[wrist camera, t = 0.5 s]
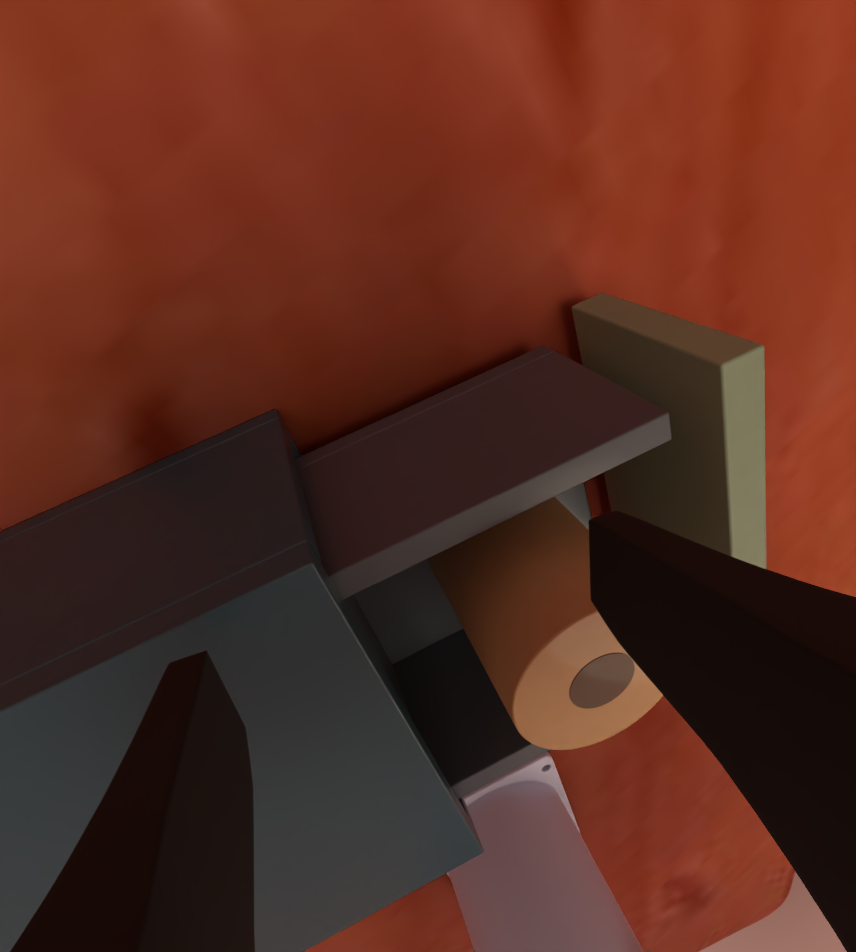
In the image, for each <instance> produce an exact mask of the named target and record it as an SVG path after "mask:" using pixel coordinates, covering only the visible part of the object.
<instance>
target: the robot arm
mask: <svg viewBox="0 0 856 952" xmlns="http://www.w3.org/2000/svg"><path fill="white" fill-rule="evenodd" d="M589 557H590V594H591V601H592V603H593V605H594V606H595V608H596V609H597V611H598V612H599V614H600V616H601V617H602V619H603V620H604V622H605V623H606V625H607V626H608V628H609V629H610V631H611V632H612V634H613V635H614V637H615V638H616V640H617V641H618V642H619V644H620V645H621V646H622V647H623V649H624V650H625V651H626V652H627V653H628V655H629V656H630V657H631V658H632V659H633V661H634V662H635V663H636V664H637V665H638V666H639V668H640V669H641V670H642V671H643V672H644V673H645V675H646V676H647V677H648V678H649V679H650V680H651V682H652V683H653V684H654V685H655V686H656V687H657V688H658V690H659V691H660V692H661V693H662V694H663V695H664V697H665V698H666V699H667V700H668V701H669V702H670V703H671V705H672V706H673V707H674V708H675V709H676V710H677V712H678V713H679V714H680V715H681V716H682V717H683V718H684V720H685V721H686V722H687V723H688V724H689V725H690V727H691V728H692V729H693V730H694V731H695V732H696V734H697V735H698V736H699V737H700V738H701V739H702V741H703V742H704V743H705V744H706V746H707V747H708V748H709V749H710V751H711V752H712V753H713V754H714V756H715V757H716V758H717V759H718V761H719V762H720V763H721V765H722V766H723V767H724V769H725V770H726V772H727V773H728V774H729V776H730V777H731V779H732V780H733V781H734V783H735V784H736V786H737V787H738V788H739V790H740V791H741V793H742V794H743V795H744V797H745V798H746V800H747V801H748V802H749V804H750V805H751V807H752V808H753V809H754V811H755V812H756V814H757V815H758V817H759V818H760V820H761V821H762V823H763V824H764V825H765V827H766V828H767V830H768V831H769V833H770V834H771V836H772V837H773V839H774V840H775V842H776V843H777V845H778V846H779V847H780V849H781V850H782V852H783V853H784V855H785V856H786V858H787V859H788V861H789V862H790V864H791V865H792V867H793V868H794V870H795V871H796V873H797V874H798V876H799V877H800V879H801V880H802V882H803V883H804V885H805V887H806V888H807V890H808V891H809V892H810V894H811V896H812V897H813V899H814V901H815V902H816V903H817V905H818V906H819V908H820V910H821V911H822V913H823V914H824V916H825V918H826V919H827V921H828V922H829V924H830V925H831V927H832V928H833V930H834V931H835V933H836V934H837V936H838V938H839V939H840V941H841V943H842V944H843V946H844V948H845V949H846V951H847V952H856V597H853V596H849V595H846V594H842V593H838V592H835V591H831V590H828V589H824V588H821V587H818V586H815V585H811V584H808V583H805V582H802V581H799V580H796V579H793V578H790V577H787V576H784V575H781V574H778V573H776V572H773V571H770V570H767V569H764V568H761V567H758V566H756V565H753V564H750V563H747V562H745V561H742V560H739V559H737V558H734V557H732V556H729V555H726V554H724V553H721V552H719V551H716V550H714V549H711V548H709V547H706V546H704V545H701V544H699V543H696V542H694V541H691V540H689V539H687V538H684V537H682V536H679V535H677V534H674V533H672V532H670V531H667V530H665V529H662V528H660V527H658V526H655V525H653V524H650V523H648V522H645V521H643V520H641V519H638V518H636V517H633V516H630V515H628V514H625V513H622V512H620V511H614V512H611V513H608V514H605V515H602V516H599V517H596V518H593V519H590V520H589ZM463 798H464V801H465V803H466V806H467V808H468V811H469V814H470V816H471V819H472V821H473V824H474V827H475V829H476V832H477V834H478V837H479V839H480V842H481V844H482V847H483V850H484V852H483V853H482V854H480V855H478V856H477V857H475V858H473V859H471V860H469V861H467V862H466V863H464V864H462V865H460V866H458V867H457V868H455V869H453V870H451V871H449V872H447V875H448V876H449V878H450V879H451V882H452V885H453V888H454V891H455V894H456V897H457V900H458V903H459V906H460V909H461V912H462V915H463V918H464V922H465V925H466V928H467V931H468V934H469V937H470V940H471V943H472V946H473V949H474V952H644V951H643V949H642V947H641V945H640V944H639V942H638V940H637V938H636V936H635V934H634V933H633V931H632V929H631V927H630V925H629V923H628V922H627V920H626V918H625V916H624V914H623V912H622V910H621V909H620V907H619V905H618V903H617V901H616V899H615V898H614V896H613V894H612V892H611V890H610V888H609V886H608V885H607V883H606V881H605V879H604V877H603V875H602V874H601V872H600V870H599V868H598V866H597V864H596V862H595V861H594V859H593V857H592V855H591V853H590V851H589V850H588V848H587V846H586V844H585V842H584V840H583V839H582V837H581V835H580V830H579V827H578V825H577V822H576V819H575V817H574V814H573V812H572V809H571V806H570V804H569V801H568V798H567V796H566V793H565V791H564V788H563V785H562V783H561V780H560V777H559V775H558V772H557V769H556V767H555V764H554V762H553V759H552V757H551V755H550V753H549V752H546V753H544V754H542V755H540V756H539V757H537V758H535V759H533V760H531V761H529V762H527V763H526V764H524V765H522V766H520V767H518V768H516V769H514V770H512V771H511V772H509V773H507V774H505V775H503V776H501V777H499V778H498V779H496V780H494V781H492V782H490V783H488V784H486V785H485V786H483V787H481V788H479V789H477V790H475V791H473V792H471V793H470V794H468V795H466V796H464V797H463ZM10 952H255V937H254V806H253V780H252V772H251V763H250V755H249V748H248V741H247V733H246V727H245V725H244V723H243V721H242V719H241V717H240V715H239V713H238V711H237V709H236V707H235V705H234V703H233V702H232V700H231V698H230V696H229V694H228V692H227V690H226V688H225V686H224V684H223V682H222V680H221V678H220V676H219V674H218V672H217V670H216V668H215V666H214V664H213V662H212V660H211V658H210V656H209V654H208V652H207V650H206V651H203V652H200V653H197V654H194V655H191V656H188V657H185V658H182V659H179V660H176V661H173V662H171V663H169V665H168V666H167V668H166V670H165V671H164V674H163V676H162V678H161V680H160V682H159V684H158V686H157V689H156V691H155V693H154V695H153V697H152V699H151V701H150V704H149V706H148V708H147V710H146V712H145V714H144V716H143V718H142V721H141V723H140V725H139V727H138V729H137V731H136V733H135V735H134V737H133V739H132V741H131V743H130V745H129V747H128V749H127V751H126V753H125V755H124V757H123V759H122V761H121V763H120V765H119V767H118V769H117V771H116V773H115V775H114V777H113V779H112V781H111V783H110V785H109V787H108V789H107V791H106V792H105V794H104V796H103V798H102V800H101V802H100V804H99V805H98V807H97V809H96V811H95V813H94V814H93V816H92V818H91V820H90V821H89V823H88V825H87V827H86V829H85V830H84V832H83V834H82V836H81V837H80V839H79V841H78V843H77V845H76V846H75V848H74V850H73V852H72V853H71V855H70V857H69V859H68V860H67V862H66V864H65V865H64V867H63V869H62V870H61V872H60V874H59V875H58V877H57V879H56V880H55V882H54V884H53V885H52V887H51V889H50V890H49V892H48V893H47V895H46V897H45V898H44V900H43V901H42V903H41V905H40V906H39V908H38V909H37V911H36V913H35V914H34V916H33V917H32V919H31V920H30V922H29V923H28V925H27V926H26V928H25V930H24V931H23V933H22V934H21V936H20V937H19V939H18V940H17V942H16V943H15V945H14V946H13V948H12V949H11V951H10ZM647 952H651V951H647Z"/></svg>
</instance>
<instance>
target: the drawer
mask: <svg viewBox="0 0 856 952" xmlns="http://www.w3.org/2000/svg"><path fill="white" fill-rule="evenodd" d="M572 313H573V318H574V323H575V329H576V334H577V339H578V344H579V349H580V354H581V359H582V364H583V366H582V365H580V364H579V363H577V362H575V361H573V360H571V359H569V358H568V357H566V356H564V355H562V354H560V353H558V352H556V351H555V352H554V351H553V350H552V349H550V348H548V347H546V346H541V347H539V348H536V349H534V350H532V351H530V352H528V353H525V354H523V355H521V356H519V357H517V358H515V359H512V360H510V361H508V362H506V363H504V364H501V365H499V366H497V367H495V368H493V369H491V370H488V371H486V372H484V373H482V374H480V375H477V376H475V377H473V378H471V379H469V380H467V381H464V382H462V383H460V384H458V385H456V386H453V387H451V388H449V389H447V390H445V391H443V392H440V393H438V394H436V395H434V396H432V397H429V398H427V399H425V400H423V401H421V402H419V403H416V404H414V405H412V406H410V407H408V408H405V409H403V410H401V411H399V412H397V413H395V414H392V415H390V416H388V417H386V418H384V419H381V420H379V421H377V422H375V423H373V424H371V425H368V426H366V427H364V428H362V429H360V430H357V431H355V432H353V433H351V434H349V435H347V436H344V437H342V438H340V439H338V440H336V441H333V442H331V443H329V444H327V445H325V446H323V447H320V448H318V449H316V450H314V451H312V452H309V453H307V454H305V455H303V456H301V457H299V458H296V459H295V462H296V466H297V470H298V474H299V478H300V481H301V485H302V489H303V493H304V497H305V501H306V504H307V508H308V512H309V516H310V520H311V524H312V528H313V531H314V535H315V539H316V543H317V547H318V551H319V555H320V558H321V562H322V566H323V568H324V570H325V571H326V573H327V575H328V577H329V578H330V580H331V582H332V583H333V585H334V587H335V589H336V590H337V592H338V594H339V595H340V597H341V599H342V601H343V602H344V604H345V606H346V607H347V609H348V611H349V613H350V614H351V616H352V618H353V619H354V621H355V623H356V625H357V626H358V628H359V630H360V631H361V633H362V635H363V637H364V638H365V640H366V642H367V643H368V645H369V647H370V649H371V650H372V652H373V654H374V656H375V657H376V659H377V661H378V662H379V664H380V666H381V668H382V669H383V671H384V673H385V674H386V676H387V678H388V680H389V681H390V683H391V685H392V686H393V688H394V690H395V692H396V693H397V695H398V697H399V698H400V700H401V702H402V704H403V705H404V707H405V709H406V710H407V712H408V714H409V716H410V717H411V719H412V721H413V722H414V724H415V726H416V728H417V729H418V731H419V733H420V735H421V736H422V738H423V740H424V741H425V743H426V745H427V747H428V748H429V750H430V752H431V753H432V755H433V757H434V759H435V760H436V762H437V764H438V765H439V767H440V769H441V771H442V772H443V774H444V776H445V777H446V779H447V781H448V783H449V784H450V786H451V788H452V789H453V791H454V793H455V795H456V796H457V798H458V799H460V798H462V797H464V796H466V795H468V794H470V793H471V792H473V791H475V790H477V789H479V788H481V787H483V786H485V785H486V784H488V783H490V782H492V781H494V780H496V779H498V778H499V777H501V776H503V775H505V774H507V773H509V772H511V771H512V770H514V769H516V768H518V767H520V766H522V765H524V764H526V763H527V762H529V761H531V760H533V759H535V758H537V757H539V756H540V755H542V754H544V753H546V752H548V751H550V750H552V749H545V748H542V747H538V746H536V745H534V744H532V743H530V742H529V741H527V740H526V739H525V738H523V737H522V735H521V734H520V733H519V732H518V730H517V729H516V727H515V725H514V723H513V721H512V719H511V717H510V716H509V714H508V712H507V710H506V708H505V706H504V704H503V702H502V701H501V699H500V697H499V695H498V693H497V691H496V689H495V687H494V685H493V684H492V682H491V680H490V678H489V676H488V674H487V672H486V670H485V668H484V667H483V665H482V663H481V661H480V659H479V657H478V655H477V653H476V652H475V650H474V648H473V646H472V644H471V642H470V640H469V638H468V636H467V635H466V633H465V631H464V629H463V627H462V625H461V623H460V621H459V619H458V618H457V616H456V614H455V612H454V610H453V608H452V606H451V604H450V603H449V601H448V599H447V597H446V595H445V593H444V591H443V589H442V587H441V586H440V584H439V582H438V580H437V578H436V576H435V574H434V572H433V571H432V569H431V567H430V565H429V563H428V561H427V559H428V558H430V557H432V556H434V555H436V554H438V553H440V552H442V551H444V550H446V549H448V548H450V547H452V546H454V545H456V544H458V543H461V542H463V541H465V540H467V539H469V538H471V537H473V536H475V535H477V534H479V533H481V532H483V531H485V530H487V529H489V528H491V527H493V526H495V525H497V524H499V523H501V522H504V521H506V520H508V519H510V518H512V517H514V516H516V515H518V514H520V513H522V512H524V511H526V510H528V509H530V508H532V507H534V506H536V505H538V504H540V503H542V502H545V501H547V500H549V499H551V498H553V497H556V498H557V499H558V500H559V501H560V502H561V503H562V504H563V505H564V506H565V507H566V508H567V509H568V510H569V511H570V512H571V513H572V514H573V515H574V516H575V517H576V518H577V519H578V520H579V521H580V522H581V523H582V524H583V525H584V526H585V527H586V528H587V529H588V530H589V520H590V519H592V517H591V513H590V508H589V504H588V499H587V495H586V490H585V486H584V482H585V481H588V480H590V479H592V478H594V477H596V476H598V475H600V474H602V473H604V477H605V482H606V487H607V492H608V497H609V502H610V507H611V512H614V511H620V512H622V513H625V514H628V515H630V516H633V517H636V518H638V519H641V520H643V521H645V522H648V523H650V524H653V525H655V526H658V527H660V528H662V529H665V530H667V531H670V532H672V533H674V534H677V535H679V536H682V537H684V538H687V539H689V540H691V541H694V542H696V543H699V544H701V545H704V546H706V547H709V548H711V549H714V550H716V551H719V552H721V553H724V554H726V555H729V556H732V557H734V558H737V559H739V560H742V561H745V562H747V563H750V564H753V565H756V566H758V567H761V568H764V569H766V475H765V370H764V346H763V345H762V344H759V343H756V342H753V341H750V340H747V339H744V338H740V337H737V336H734V335H731V334H728V333H725V332H722V331H719V330H716V329H713V328H710V327H706V326H703V325H700V324H697V323H694V322H691V321H688V320H685V319H682V318H679V317H676V316H672V315H669V314H666V313H663V312H660V311H657V310H654V309H651V308H648V307H645V306H642V305H638V304H635V303H632V302H629V301H626V300H623V299H620V298H617V297H614V296H611V295H608V294H604V293H600V294H598V295H596V296H593V297H591V298H589V299H587V300H585V301H582V302H580V303H578V304H576V305H574V306H572Z"/></svg>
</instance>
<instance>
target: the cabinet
mask: <svg viewBox="0 0 856 952" xmlns="http://www.w3.org/2000/svg"><path fill="white" fill-rule="evenodd" d="M299 457H301V454H300V452H299V450H298V448H297V446H296V444H295V442H294V441H293V439H292V437H291V435H290V433H289V431H288V429H287V427H286V426H285V424H284V422H283V420H282V418H281V416H280V414H279V412H278V411H277V410H276V409H274V410H272V411H269V412H267V413H265V414H263V415H260V416H258V417H256V418H254V419H251V420H249V421H247V422H245V423H242V424H240V425H238V426H236V427H234V428H231V429H229V430H227V431H225V432H222V433H220V434H218V435H216V436H213V437H211V438H209V439H207V440H204V441H202V442H200V443H198V444H196V445H193V446H191V447H189V448H187V449H184V450H182V451H180V452H178V453H175V454H173V455H171V456H169V457H166V458H164V459H162V460H160V461H158V462H155V463H153V464H151V465H149V466H146V467H144V468H142V469H140V470H137V471H135V472H133V473H131V474H128V475H126V476H124V477H122V478H120V479H117V480H115V481H113V482H111V483H108V484H106V485H104V486H102V487H99V488H97V489H95V490H93V491H91V492H88V493H86V494H84V495H82V496H79V497H77V498H75V499H73V500H70V501H68V502H66V503H64V504H61V505H59V506H57V507H55V508H53V509H50V510H48V511H46V512H44V513H41V514H39V515H37V516H35V517H32V518H30V519H28V520H26V521H23V522H21V523H19V524H17V525H15V526H12V527H10V528H8V529H6V530H3V531H1V532H0V952H10V951H11V949H12V948H13V946H14V945H15V943H16V942H17V940H18V939H19V937H20V936H21V934H22V933H23V931H24V930H25V928H26V926H27V925H28V923H29V922H30V920H31V919H32V917H33V916H34V914H35V913H36V911H37V909H38V908H39V906H40V905H41V903H42V901H43V900H44V898H45V897H46V895H47V893H48V892H49V890H50V889H51V887H52V885H53V884H54V882H55V880H56V879H57V877H58V875H59V874H60V872H61V870H62V869H63V867H64V865H65V864H66V862H67V860H68V859H69V857H70V855H71V853H72V852H73V850H74V848H75V846H76V845H77V843H78V841H79V839H80V837H81V836H82V834H83V832H84V830H85V829H86V827H87V825H88V823H89V821H90V820H91V818H92V816H93V814H94V813H95V811H96V809H97V807H98V805H99V804H100V802H101V800H102V798H103V796H104V794H105V792H106V791H107V789H108V787H109V785H110V783H111V781H112V779H113V777H114V775H115V773H116V771H117V769H118V767H119V765H120V763H121V761H122V759H123V757H124V755H125V753H126V751H127V749H128V747H129V745H130V743H131V741H132V739H133V737H134V735H135V733H136V731H137V729H138V727H139V725H140V723H141V721H142V718H143V716H144V714H145V712H146V710H147V708H148V706H149V704H150V701H151V699H152V697H153V695H154V693H155V691H156V689H157V686H158V684H159V682H160V680H161V678H162V676H163V674H164V671H165V670H166V668H167V666H168V665H169V663H171V662H173V661H176V660H179V659H182V658H185V657H188V656H191V655H194V654H197V653H200V652H203V651H206V650H207V652H208V654H209V656H210V658H211V660H212V662H213V664H214V666H215V668H216V670H217V672H218V674H219V676H220V678H221V680H222V682H223V684H224V686H225V688H226V690H227V692H228V694H229V696H230V698H231V700H232V702H233V703H234V705H235V707H236V709H237V711H238V713H239V715H240V717H241V719H242V721H243V723H244V725H245V727H246V733H247V741H248V748H249V755H250V763H251V772H252V780H253V806H254V937H255V952H304V951H305V950H307V949H309V948H311V947H313V946H315V945H316V944H318V943H320V942H322V941H324V940H326V939H327V938H329V937H331V936H333V935H335V934H336V933H338V932H340V931H342V930H344V929H346V928H347V927H349V926H351V925H353V924H355V923H356V922H358V921H360V920H362V919H364V918H366V917H367V916H369V915H371V914H373V913H375V912H376V911H378V910H380V909H382V908H384V907H386V906H387V905H389V904H391V903H393V902H395V901H397V900H398V899H400V898H402V897H404V896H406V895H407V894H409V893H411V892H413V891H415V890H417V889H418V888H420V887H422V886H424V885H426V884H427V883H429V882H431V881H433V880H435V879H437V878H438V877H440V876H442V875H444V874H446V873H447V872H449V871H451V870H453V869H455V868H457V867H458V866H460V865H462V864H464V863H466V862H467V861H469V860H471V859H473V858H475V857H477V856H478V855H480V854H482V853H483V852H484V850H483V847H482V844H481V842H480V839H479V837H478V834H477V832H476V829H475V827H474V824H473V821H472V819H471V816H470V814H469V811H468V808H467V806H466V803H465V801H464V798H463V797H462V798H460V799H458V798H457V796H456V795H455V793H454V791H453V789H452V788H451V786H450V784H449V783H448V781H447V779H446V777H445V776H444V774H443V772H442V771H441V769H440V767H439V765H438V764H437V762H436V760H435V759H434V757H433V755H432V753H431V752H430V750H429V748H428V747H427V745H426V743H425V741H424V740H423V738H422V736H421V735H420V733H419V731H418V729H417V728H416V726H415V724H414V722H413V721H412V719H411V717H410V716H409V714H408V712H407V710H406V709H405V707H404V705H403V704H402V702H401V700H400V698H399V697H398V695H397V693H396V692H395V690H394V688H393V686H392V685H391V683H390V681H389V680H388V678H387V676H386V674H385V673H384V671H383V669H382V668H381V666H380V664H379V662H378V661H377V659H376V657H375V656H374V654H373V652H372V650H371V649H370V647H369V645H368V643H367V642H366V640H365V638H364V637H363V635H362V633H361V631H360V630H359V628H358V626H357V625H356V623H355V621H354V619H353V618H352V616H351V614H350V613H349V611H348V609H347V607H346V606H345V604H344V602H343V601H342V599H341V597H340V595H339V594H338V592H337V590H336V589H335V587H334V585H333V583H332V582H331V580H330V578H329V577H328V575H327V573H326V571H325V570H324V568H323V566H322V562H321V558H320V555H319V551H318V547H317V543H316V539H315V535H314V531H313V528H312V524H311V520H310V516H309V512H308V508H307V504H306V501H305V497H304V493H303V489H302V485H301V481H300V478H299V474H298V470H297V466H296V462H295V459H296V458H299Z"/></svg>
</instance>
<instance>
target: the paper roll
mask: <svg viewBox="0 0 856 952" xmlns="http://www.w3.org/2000/svg"><path fill="white" fill-rule="evenodd" d="M427 561H428V563H429V565H430V567H431V569H432V571H433V572H434V574H435V576H436V578H437V580H438V582H439V584H440V586H441V587H442V589H443V591H444V593H445V595H446V597H447V599H448V601H449V603H450V604H451V606H452V608H453V610H454V612H455V614H456V616H457V618H458V619H459V621H460V623H461V625H462V627H463V629H464V631H465V633H466V635H467V636H468V638H469V640H470V642H471V644H472V646H473V648H474V650H475V652H476V653H477V655H478V657H479V659H480V661H481V663H482V665H483V667H484V668H485V670H486V672H487V674H488V676H489V678H490V680H491V682H492V684H493V685H494V687H495V689H496V691H497V693H498V695H499V697H500V699H501V701H502V702H503V704H504V706H505V708H506V710H507V712H508V714H509V716H510V717H511V719H512V721H513V723H514V725H515V727H516V729H517V730H518V732H519V733H520V734H521V735H522V737H523V738H525V739H526V740H527V741H529V742H530V743H532V744H534V745H536V746H538V747H542V748H545V749H552V750H569V749H576V748H581V747H585V746H589V745H592V744H595V743H598V742H600V741H603V740H605V739H607V738H609V737H611V736H613V735H615V734H617V733H619V732H621V731H622V730H624V729H626V728H627V727H629V726H630V725H631V724H633V723H634V722H636V721H637V720H638V719H639V718H641V717H642V716H643V715H644V714H646V713H647V712H648V711H649V710H650V709H651V708H652V707H653V706H654V705H655V704H656V703H657V702H658V701H659V700H660V698H661V697H662V696H663V694H662V693H661V692H660V691H659V690H658V688H657V687H656V686H655V685H654V684H653V683H652V682H651V680H650V679H649V678H648V677H647V676H646V675H645V673H644V672H643V671H642V670H641V669H640V668H639V666H638V665H637V664H636V663H635V662H634V661H633V659H632V658H631V657H630V656H629V655H628V653H627V652H626V651H625V650H624V649H623V647H622V646H621V645H620V644H619V642H618V641H617V640H616V638H615V637H614V635H613V634H612V632H611V631H610V629H609V628H608V626H607V625H606V623H605V622H604V620H603V619H602V617H601V616H600V614H599V612H598V611H597V609H596V608H595V606H594V605H593V603H592V601H591V594H590V557H589V530H588V529H587V528H586V527H585V526H584V525H583V524H582V523H581V522H580V521H579V520H578V519H577V518H576V517H575V516H574V515H573V514H572V513H571V512H570V511H569V510H568V509H567V508H566V507H565V506H564V505H563V504H562V503H561V502H560V501H559V500H558V499H557V498H556V497H553V498H551V499H549V500H547V501H545V502H542V503H540V504H538V505H536V506H534V507H532V508H530V509H528V510H526V511H524V512H522V513H520V514H518V515H516V516H514V517H512V518H510V519H508V520H506V521H504V522H501V523H499V524H497V525H495V526H493V527H491V528H489V529H487V530H485V531H483V532H481V533H479V534H477V535H475V536H473V537H471V538H469V539H467V540H465V541H463V542H461V543H458V544H456V545H454V546H452V547H450V548H448V549H446V550H444V551H442V552H440V553H438V554H436V555H434V556H432V557H430V558H428V559H427Z"/></svg>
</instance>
